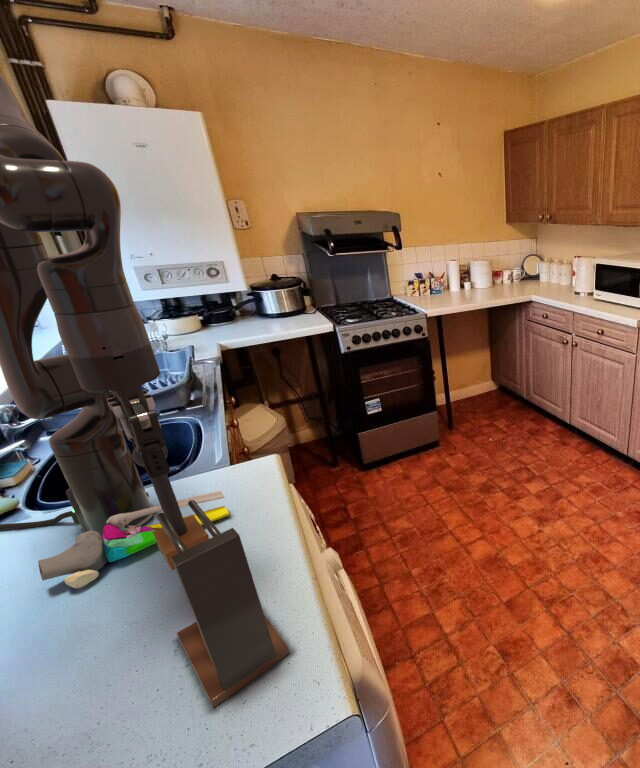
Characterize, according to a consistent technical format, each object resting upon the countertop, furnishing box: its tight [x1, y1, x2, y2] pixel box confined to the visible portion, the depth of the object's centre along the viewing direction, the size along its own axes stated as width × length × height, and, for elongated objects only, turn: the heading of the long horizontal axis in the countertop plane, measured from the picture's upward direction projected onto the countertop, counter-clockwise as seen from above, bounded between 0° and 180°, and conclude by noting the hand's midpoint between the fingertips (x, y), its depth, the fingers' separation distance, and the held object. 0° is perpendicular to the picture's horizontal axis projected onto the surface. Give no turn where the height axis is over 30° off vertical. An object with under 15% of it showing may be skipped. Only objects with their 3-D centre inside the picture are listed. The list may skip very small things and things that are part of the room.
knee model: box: [37, 490, 230, 589], centre depth 76 cm, size 9×8×25 cm
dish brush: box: [131, 440, 210, 572], centre depth 60 cm, size 7×5×18 cm
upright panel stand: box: [155, 500, 291, 708], centre depth 55 cm, size 14×9×20 cm, turn 49°
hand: (155, 468), depth 58 cm, fingers closed on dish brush, 3 cm apart
